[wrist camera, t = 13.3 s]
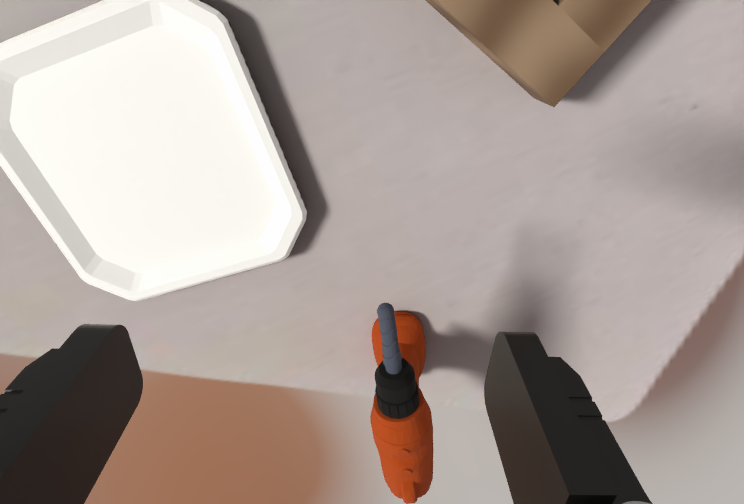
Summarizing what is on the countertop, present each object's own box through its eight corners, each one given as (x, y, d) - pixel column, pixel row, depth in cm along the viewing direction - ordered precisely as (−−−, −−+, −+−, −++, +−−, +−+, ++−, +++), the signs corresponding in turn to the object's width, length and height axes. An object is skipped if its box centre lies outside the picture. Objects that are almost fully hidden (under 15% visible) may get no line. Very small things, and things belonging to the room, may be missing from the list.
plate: (325, 238, 37) (322, 250, 35) (116, 298, 40) (102, 312, 38) (213, -37, 28) (200, -42, 26) (-44, 68, 31) (-72, 71, 29)
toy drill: (413, 197, 33) (436, 341, 21) (426, 364, 44) (447, 525, 31) (349, 204, 34) (336, 349, 21) (378, 368, 44) (380, 529, 32)
